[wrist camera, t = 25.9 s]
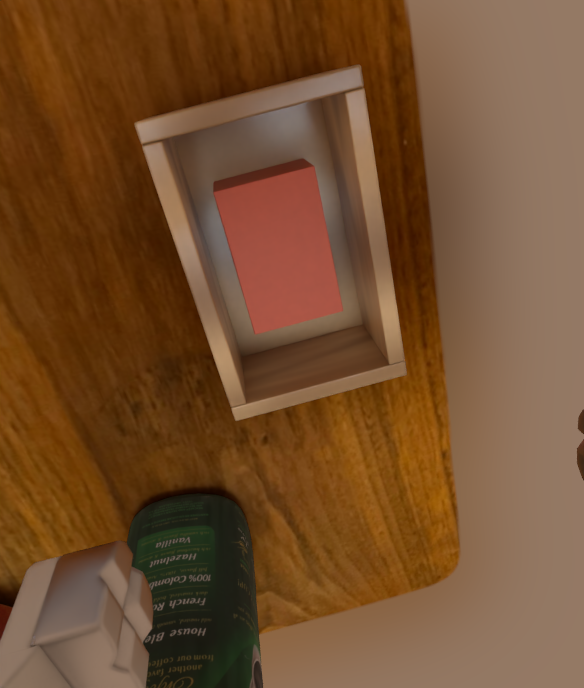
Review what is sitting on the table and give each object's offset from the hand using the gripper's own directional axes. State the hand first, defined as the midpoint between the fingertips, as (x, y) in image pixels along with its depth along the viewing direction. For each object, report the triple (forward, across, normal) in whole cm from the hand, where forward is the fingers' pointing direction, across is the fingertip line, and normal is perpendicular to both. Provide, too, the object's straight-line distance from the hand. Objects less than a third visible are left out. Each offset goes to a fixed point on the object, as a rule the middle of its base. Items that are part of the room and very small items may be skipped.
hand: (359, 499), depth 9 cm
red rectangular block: (+19, -1, +1) cm, 19 cm away
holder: (+20, -1, +1) cm, 20 cm away
